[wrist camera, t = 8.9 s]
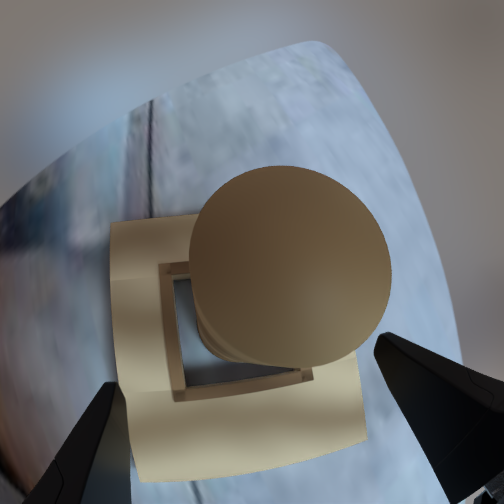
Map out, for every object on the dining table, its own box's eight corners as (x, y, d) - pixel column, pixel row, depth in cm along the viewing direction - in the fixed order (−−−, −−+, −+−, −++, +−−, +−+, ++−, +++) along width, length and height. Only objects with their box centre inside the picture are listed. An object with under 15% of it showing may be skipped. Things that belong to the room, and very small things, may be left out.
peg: (271, 355, 17) (411, 341, 5) (202, 365, 16) (201, 389, 4) (260, 290, 19) (361, 165, 6) (194, 298, 18) (179, 168, 6)
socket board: (358, 436, 16) (368, 440, 15) (143, 475, 13) (139, 483, 12) (316, 213, 21) (322, 204, 20) (115, 230, 18) (109, 221, 17)
